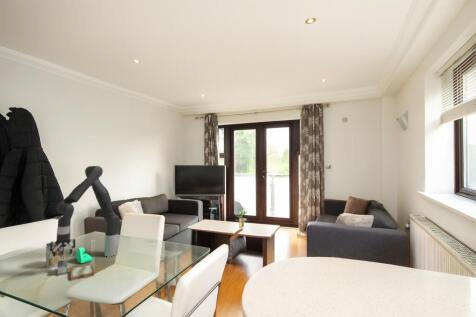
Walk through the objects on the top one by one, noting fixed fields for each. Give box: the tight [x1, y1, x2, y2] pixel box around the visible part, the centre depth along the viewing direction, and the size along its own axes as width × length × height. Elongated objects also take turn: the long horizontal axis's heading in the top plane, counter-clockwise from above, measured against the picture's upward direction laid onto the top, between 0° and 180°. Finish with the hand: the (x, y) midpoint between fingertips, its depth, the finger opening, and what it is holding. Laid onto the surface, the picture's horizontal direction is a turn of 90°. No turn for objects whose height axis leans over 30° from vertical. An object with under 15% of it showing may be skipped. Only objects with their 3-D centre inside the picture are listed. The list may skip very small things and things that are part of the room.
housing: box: [57, 259, 68, 277], centre depth 165 cm, size 5×8×6 cm, turn 37°
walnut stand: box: [69, 264, 95, 282], centre depth 165 cm, size 13×13×2 cm
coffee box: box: [45, 242, 65, 269], centre depth 173 cm, size 9×6×16 cm
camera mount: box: [75, 246, 93, 264], centre depth 183 cm, size 12×8×10 cm, turn 52°
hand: (62, 255), depth 165 cm, fingers open, 8 cm apart
